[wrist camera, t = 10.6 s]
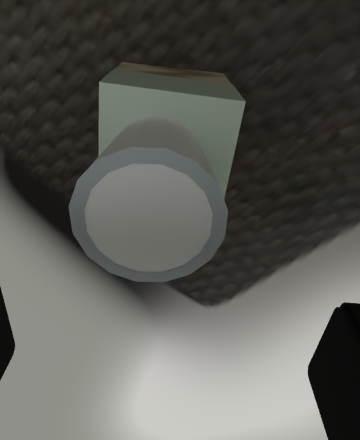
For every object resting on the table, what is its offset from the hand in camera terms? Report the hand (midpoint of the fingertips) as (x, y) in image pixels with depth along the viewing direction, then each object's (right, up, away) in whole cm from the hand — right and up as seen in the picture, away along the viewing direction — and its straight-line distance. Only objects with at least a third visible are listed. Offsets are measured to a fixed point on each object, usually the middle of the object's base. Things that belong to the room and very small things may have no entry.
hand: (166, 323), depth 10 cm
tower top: (0, +9, +15) cm, 18 cm away
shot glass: (-1, +6, +11) cm, 13 cm away
